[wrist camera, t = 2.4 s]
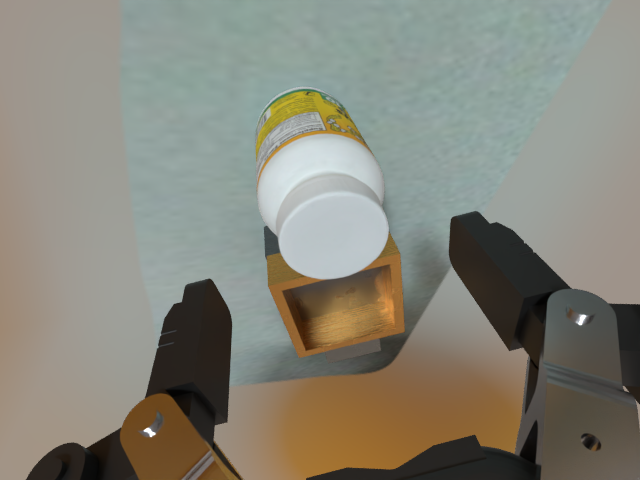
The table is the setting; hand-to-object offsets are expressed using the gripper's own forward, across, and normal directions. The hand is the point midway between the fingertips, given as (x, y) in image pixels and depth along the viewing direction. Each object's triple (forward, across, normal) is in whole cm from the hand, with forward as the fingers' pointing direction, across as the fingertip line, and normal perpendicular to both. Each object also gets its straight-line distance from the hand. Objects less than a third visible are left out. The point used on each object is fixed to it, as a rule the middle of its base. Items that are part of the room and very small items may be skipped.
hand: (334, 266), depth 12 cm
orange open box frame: (+11, 0, +10) cm, 15 cm away
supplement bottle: (+11, 0, 0) cm, 11 cm away
